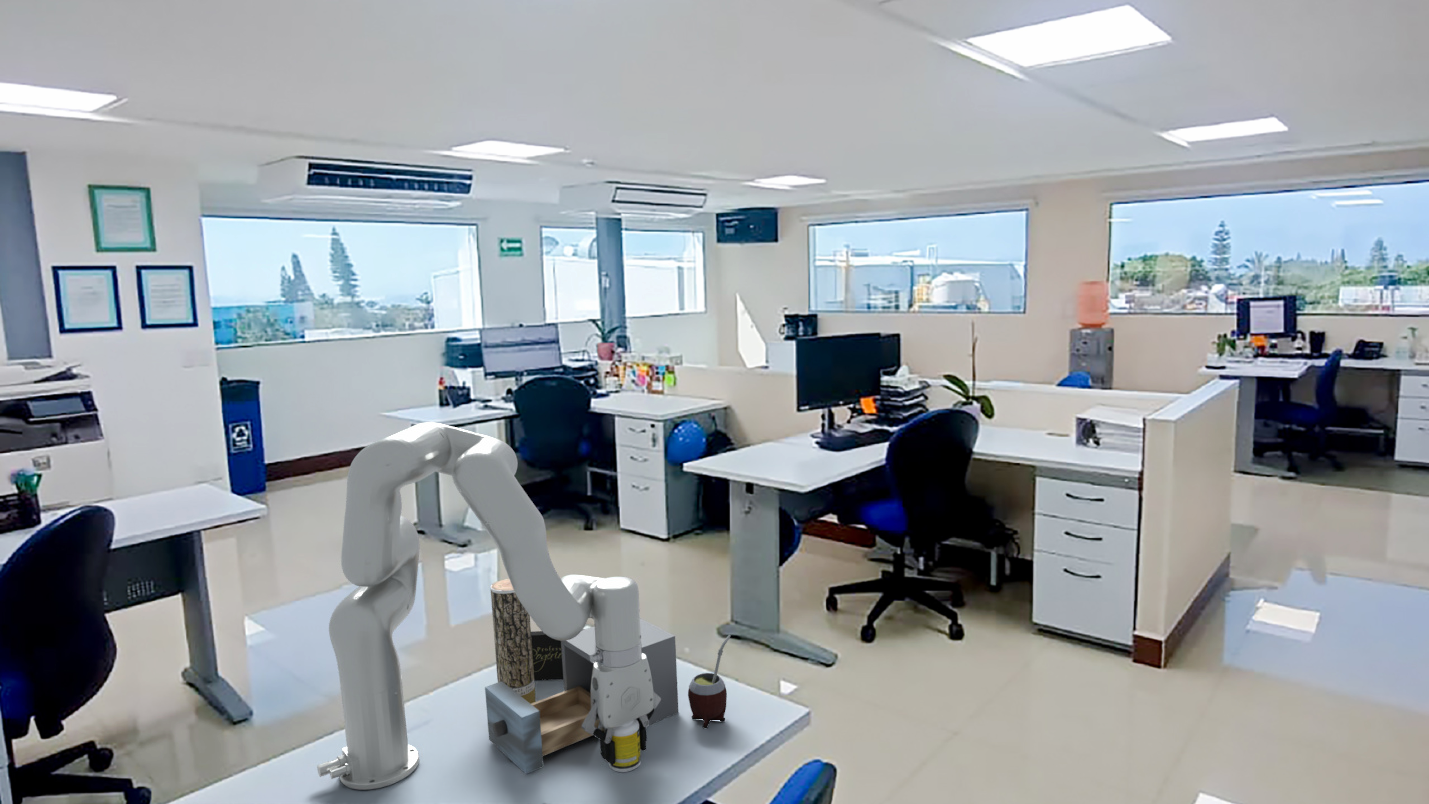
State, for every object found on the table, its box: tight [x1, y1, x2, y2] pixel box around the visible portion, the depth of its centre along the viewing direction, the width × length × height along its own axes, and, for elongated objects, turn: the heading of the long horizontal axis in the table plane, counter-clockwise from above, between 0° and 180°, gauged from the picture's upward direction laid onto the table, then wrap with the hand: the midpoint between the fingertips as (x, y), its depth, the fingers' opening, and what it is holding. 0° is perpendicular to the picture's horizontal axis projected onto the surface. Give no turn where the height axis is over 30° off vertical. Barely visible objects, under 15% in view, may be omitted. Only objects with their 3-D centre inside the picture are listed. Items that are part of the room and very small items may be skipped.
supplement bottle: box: [608, 719, 642, 773], centre depth 144 cm, size 5×5×10 cm
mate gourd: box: [687, 633, 732, 729], centre depth 157 cm, size 8×8×15 cm
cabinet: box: [561, 617, 679, 730], centre depth 161 cm, size 16×14×15 cm
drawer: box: [484, 681, 600, 775], centre depth 151 cm, size 19×14×10 cm
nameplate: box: [531, 628, 585, 682], centre depth 176 cm, size 21×2×10 cm, turn 92°
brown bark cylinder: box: [490, 578, 537, 704], centre depth 163 cm, size 7×7×25 cm
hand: (624, 753), depth 144 cm, fingers closed on supplement bottle, 5 cm apart
